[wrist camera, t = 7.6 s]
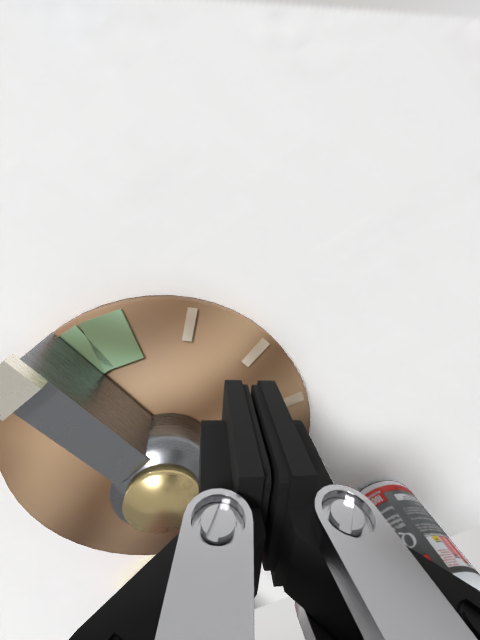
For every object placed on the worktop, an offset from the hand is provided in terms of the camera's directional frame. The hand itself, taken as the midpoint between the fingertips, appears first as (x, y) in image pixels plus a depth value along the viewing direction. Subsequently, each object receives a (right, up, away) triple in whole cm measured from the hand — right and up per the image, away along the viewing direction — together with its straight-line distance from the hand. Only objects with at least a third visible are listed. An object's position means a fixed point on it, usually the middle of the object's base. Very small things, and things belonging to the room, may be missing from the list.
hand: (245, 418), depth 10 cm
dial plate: (-5, -4, +9) cm, 11 cm away
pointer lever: (-7, -2, +6) cm, 9 cm away
